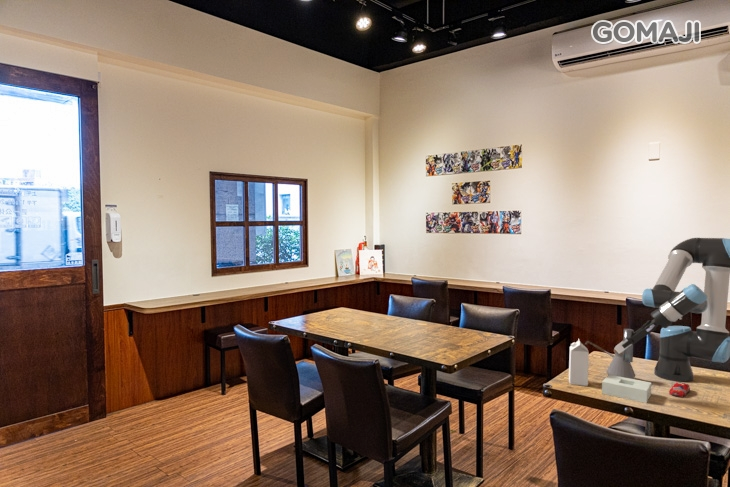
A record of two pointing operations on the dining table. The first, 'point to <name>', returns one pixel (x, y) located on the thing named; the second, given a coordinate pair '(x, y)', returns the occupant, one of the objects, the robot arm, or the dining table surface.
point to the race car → (679, 389)
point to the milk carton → (578, 364)
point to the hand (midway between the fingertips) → (617, 349)
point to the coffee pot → (618, 365)
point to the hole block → (626, 388)
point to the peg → (629, 351)
